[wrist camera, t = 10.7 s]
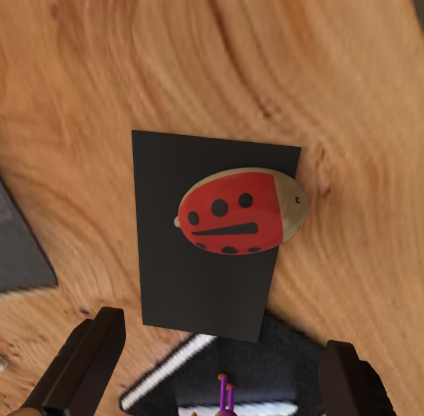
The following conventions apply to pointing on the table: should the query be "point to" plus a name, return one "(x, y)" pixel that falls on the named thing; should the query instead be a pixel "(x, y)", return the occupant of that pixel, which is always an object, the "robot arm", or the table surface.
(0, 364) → the scissors
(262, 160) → the desk pad
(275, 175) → the ladybug figurine
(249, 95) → the table surface
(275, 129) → the table surface
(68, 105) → the table surface
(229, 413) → the wizard figurine
